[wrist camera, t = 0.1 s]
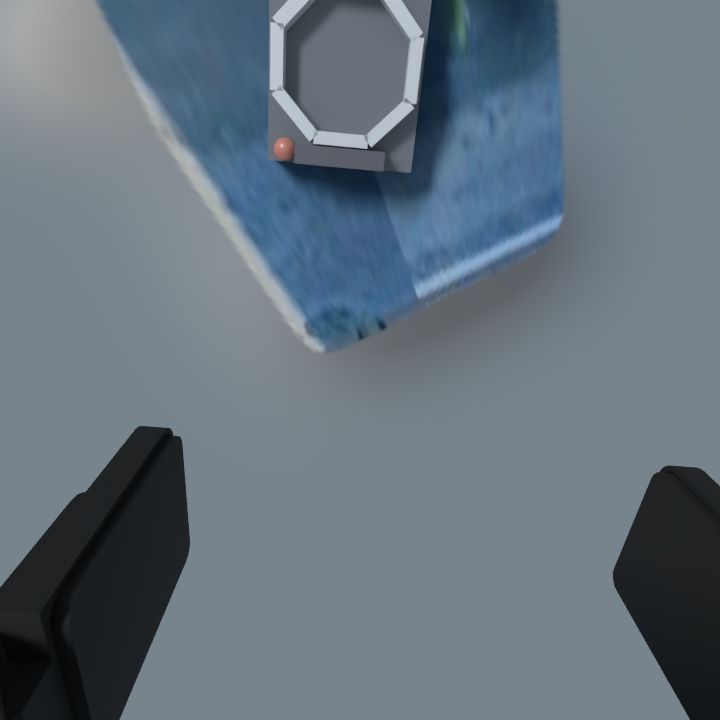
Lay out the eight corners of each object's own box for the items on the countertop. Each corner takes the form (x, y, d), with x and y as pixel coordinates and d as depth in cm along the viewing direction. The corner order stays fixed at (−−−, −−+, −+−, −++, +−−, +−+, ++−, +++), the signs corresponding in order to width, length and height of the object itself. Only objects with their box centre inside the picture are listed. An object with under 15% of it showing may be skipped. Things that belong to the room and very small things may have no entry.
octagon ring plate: (276, -44, 31) (264, -69, 27) (431, -27, 31) (440, -50, 28) (274, 158, 36) (264, 160, 32) (407, 171, 36) (412, 174, 32)
